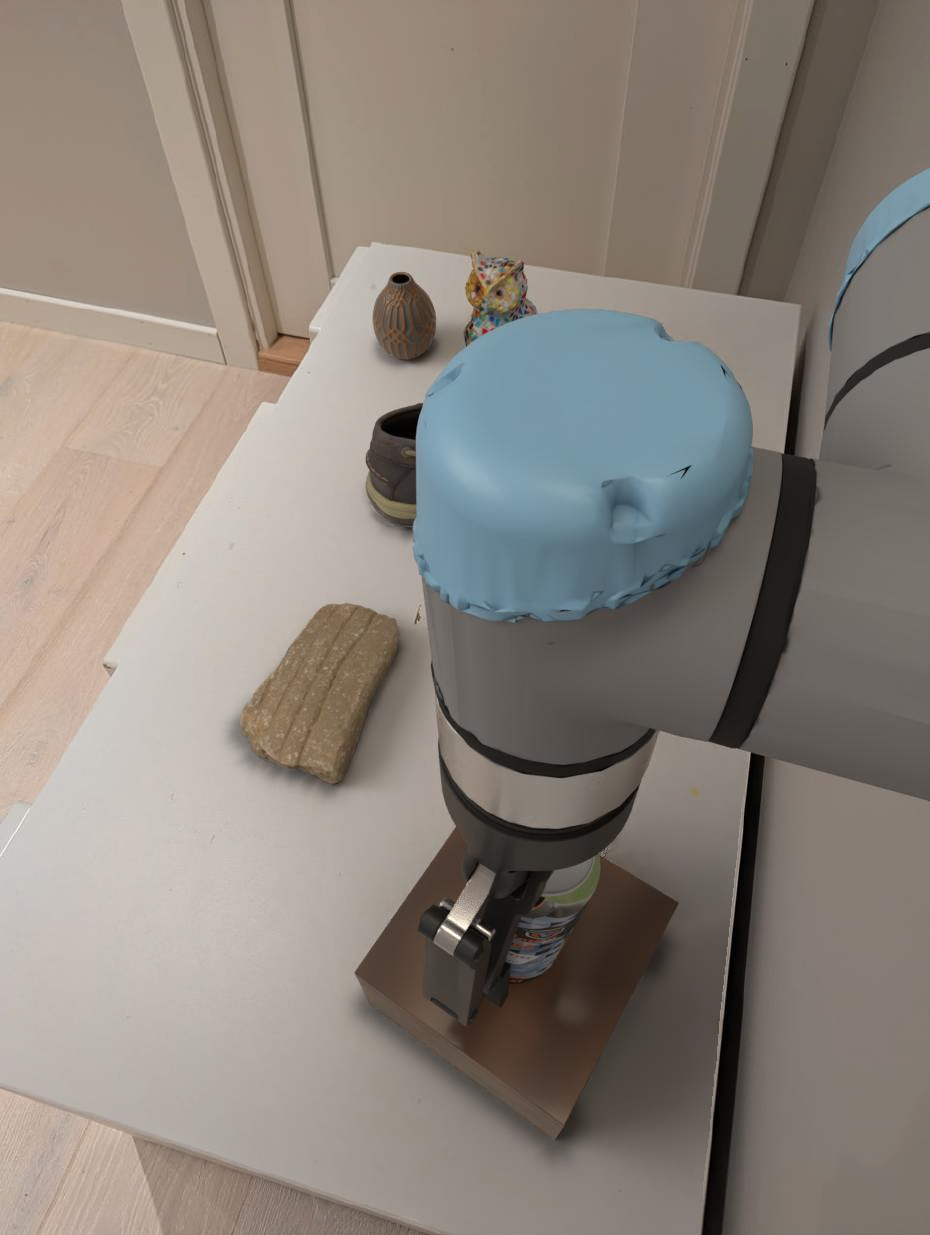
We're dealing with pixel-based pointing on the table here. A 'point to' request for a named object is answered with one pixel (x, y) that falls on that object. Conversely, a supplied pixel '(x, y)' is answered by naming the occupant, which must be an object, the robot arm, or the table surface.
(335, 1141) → the table surface
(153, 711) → the table surface
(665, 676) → the robot arm
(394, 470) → the boat shoe
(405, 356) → the vase
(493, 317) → the figurine
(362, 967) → the walnut shelf
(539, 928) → the beverage can
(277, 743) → the decorative stone
